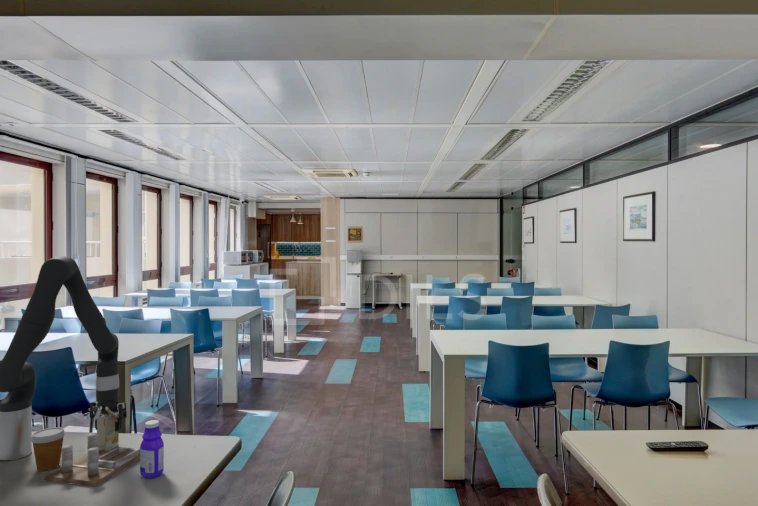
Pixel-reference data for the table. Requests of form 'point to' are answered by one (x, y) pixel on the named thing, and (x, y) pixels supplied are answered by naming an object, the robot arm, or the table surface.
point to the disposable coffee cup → (48, 447)
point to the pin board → (83, 472)
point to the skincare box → (107, 433)
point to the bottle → (151, 451)
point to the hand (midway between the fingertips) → (108, 430)
